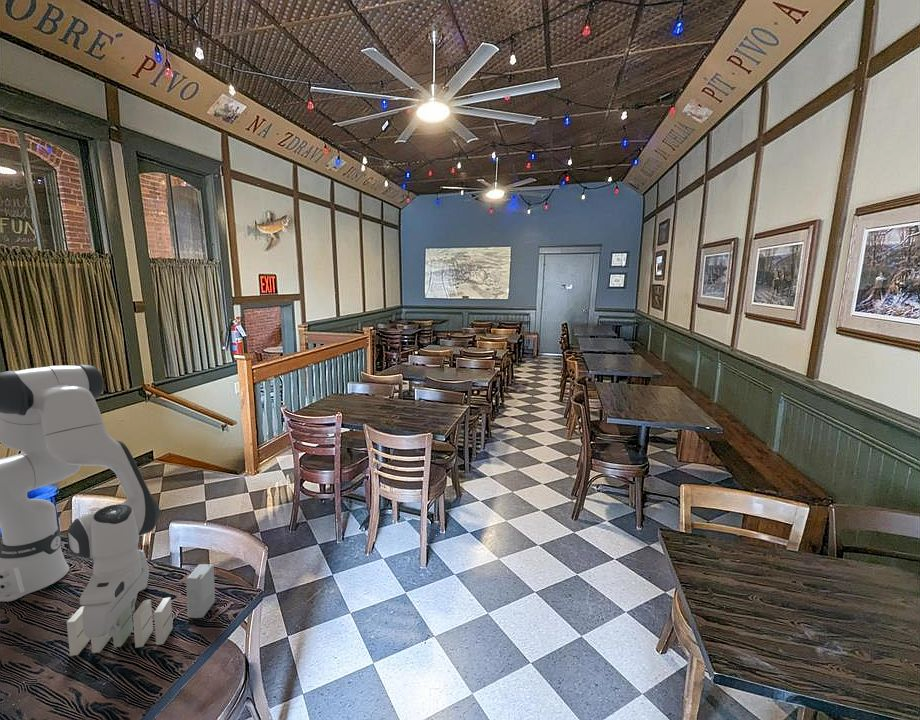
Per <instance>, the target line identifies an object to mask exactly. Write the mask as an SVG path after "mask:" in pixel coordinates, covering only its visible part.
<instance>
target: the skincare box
mask: <svg viewBox="0 0 920 720" xmlns="http://www.w3.org/2000/svg"><path fill="white" fill-rule="evenodd" d="M214 566H215V564H213V563H212V564H207V563H205V564H203V563H201V564H200V563H199V564H198V565H197V566H196V567H195V568H194V569H193V570H192V571H191V573H189V575H188V576H187V577H186V579H185V580H186V583H185V584H186V604H187V605H186V608H187V618H192V619H202V618H204V617H205V615H206V614H207V613H208V611H209V610H210V609H211V608H212V606H213V605H214V604H215V602H216V595H215V594H216V592H215V590H216V589H215V567H214Z"/></svg>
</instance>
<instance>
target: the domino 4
mask: <svg viewBox="0 0 920 720" xmlns="http://www.w3.org/2000/svg"><path fill="white" fill-rule="evenodd" d="M153 617H154V630H155V632H154V634H155V645H156V646H161V645H164V644H165V643H166V640H167V639H168V637H169V636H170V634H171V632H172V630H173V628H174V625H173V609H172V598H171V597H169V596H168V597H163V598H162V600H161V601H160V603H159V605H158V606H157V607H156V609H155V611H154V612H153ZM168 635H169V636H168Z"/></svg>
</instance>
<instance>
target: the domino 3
mask: <svg viewBox="0 0 920 720" xmlns="http://www.w3.org/2000/svg"><path fill="white" fill-rule="evenodd" d="M152 610H153V609H152V599H144V600H143V601H142V602H141V603H140V604H139V605H138V607H137V609H135V610H134V612H133V613H132V624H133V634H134V637H133V638H134V645H135V646H134V648H136V649H137V648H143V647H144V646H145V644H146V642H147V641H148V639H149V638H150V636H151V635H152V633H153V631H154V624H153V611H152Z"/></svg>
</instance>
